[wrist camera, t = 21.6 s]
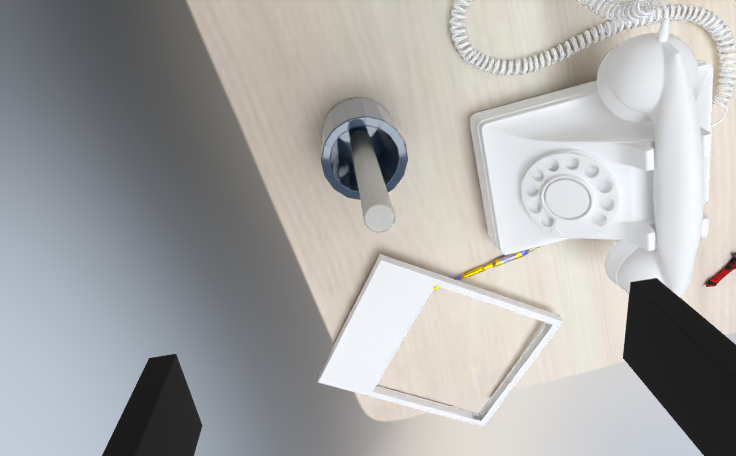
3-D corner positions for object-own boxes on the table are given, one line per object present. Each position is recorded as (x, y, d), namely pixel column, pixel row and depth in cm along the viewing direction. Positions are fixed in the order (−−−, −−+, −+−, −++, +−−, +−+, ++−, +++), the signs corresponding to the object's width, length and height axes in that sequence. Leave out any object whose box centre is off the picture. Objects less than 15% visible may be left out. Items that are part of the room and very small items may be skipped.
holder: (316, 161, 40) (314, 192, 34) (329, 90, 38) (330, 108, 32) (385, 174, 41) (396, 206, 35) (401, 105, 39) (416, 126, 33)
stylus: (347, 144, 39) (361, 230, 25) (351, 125, 39) (367, 201, 24) (366, 148, 39) (391, 235, 25) (371, 129, 39) (398, 207, 24)
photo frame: (318, 373, 49) (480, 418, 53) (318, 382, 48) (483, 426, 52) (380, 252, 43) (558, 313, 47) (381, 260, 42) (563, 321, 46)
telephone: (438, -26, 35) (493, -37, 24) (737, -110, 34) (939, -162, 23) (491, 276, 46) (546, 368, 34) (721, 217, 45) (855, 291, 34)
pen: (557, 242, 44) (555, 242, 44) (553, 235, 44) (551, 235, 45) (407, 304, 46) (408, 303, 46) (404, 296, 46) (405, 295, 46)
